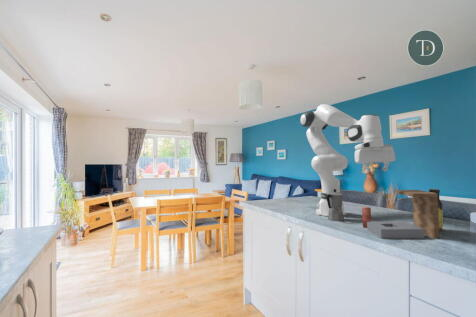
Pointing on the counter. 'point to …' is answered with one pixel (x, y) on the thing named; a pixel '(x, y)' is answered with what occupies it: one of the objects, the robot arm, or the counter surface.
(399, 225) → the socket block
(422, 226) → the wooden overhang shelf
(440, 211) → the sauce bottle
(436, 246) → the counter surface
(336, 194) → the coffeepot
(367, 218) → the peg
